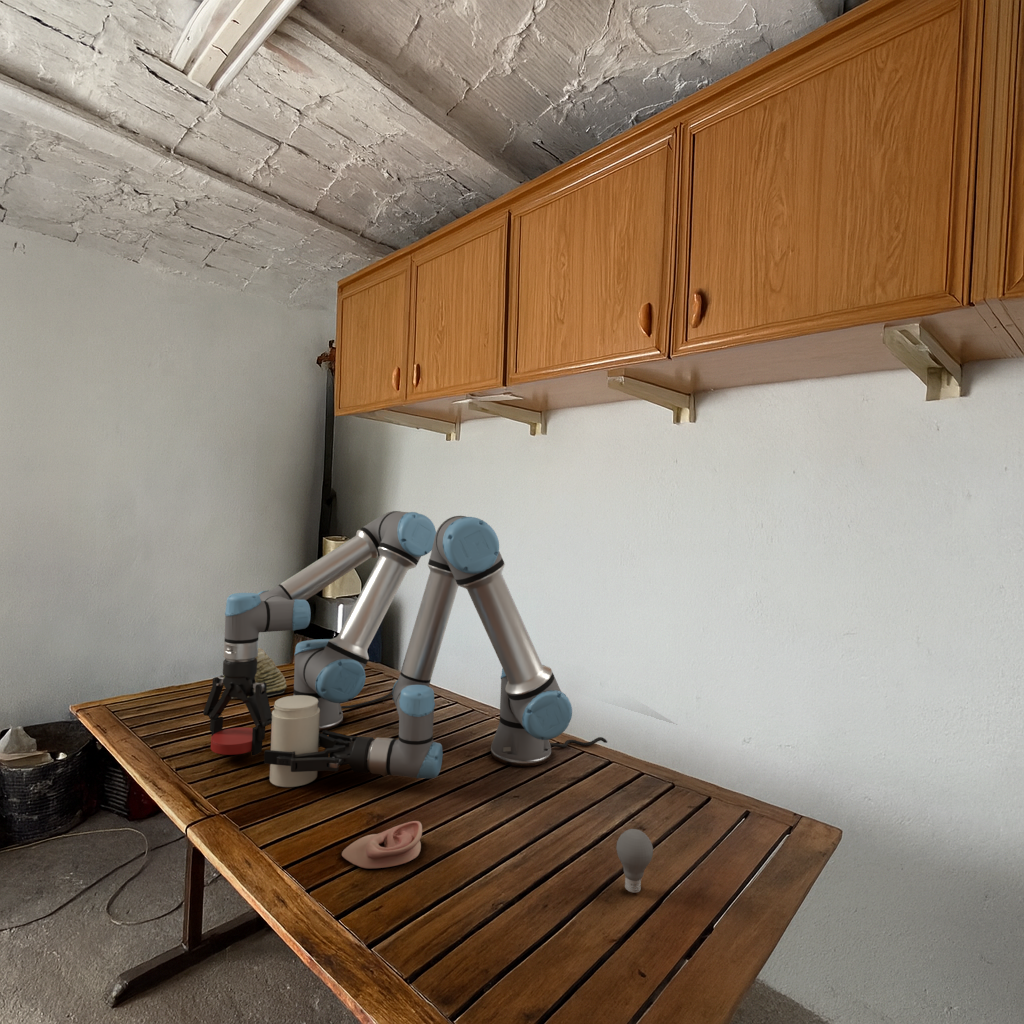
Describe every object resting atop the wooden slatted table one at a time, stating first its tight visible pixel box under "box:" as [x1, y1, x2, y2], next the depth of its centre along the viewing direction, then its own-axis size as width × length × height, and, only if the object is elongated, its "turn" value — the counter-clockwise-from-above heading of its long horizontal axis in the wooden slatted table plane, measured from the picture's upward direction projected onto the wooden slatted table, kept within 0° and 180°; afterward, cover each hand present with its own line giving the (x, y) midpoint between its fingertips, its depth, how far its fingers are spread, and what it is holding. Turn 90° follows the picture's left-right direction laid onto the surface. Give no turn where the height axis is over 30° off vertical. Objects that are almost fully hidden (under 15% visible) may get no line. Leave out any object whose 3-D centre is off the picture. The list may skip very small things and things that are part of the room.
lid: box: [210, 726, 254, 756], centre depth 151 cm, size 11×11×2 cm
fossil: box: [222, 647, 288, 699], centre depth 198 cm, size 9×18×15 cm, turn 132°
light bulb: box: [615, 828, 654, 894], centre depth 106 cm, size 6×6×10 cm
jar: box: [268, 695, 320, 788], centre depth 142 cm, size 10×10×17 cm
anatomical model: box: [341, 820, 423, 870], centre depth 114 cm, size 13×4×12 cm
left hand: (236, 749), depth 152 cm, fingers closed on lid, 11 cm apart
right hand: (276, 747), depth 143 cm, fingers closed on jar, 10 cm apart
